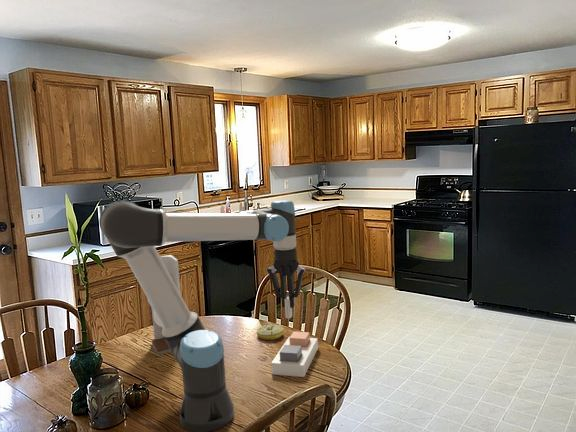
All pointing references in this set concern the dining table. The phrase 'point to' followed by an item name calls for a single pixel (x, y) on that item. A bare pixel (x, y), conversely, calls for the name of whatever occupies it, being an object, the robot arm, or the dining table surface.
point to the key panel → (295, 367)
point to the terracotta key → (299, 338)
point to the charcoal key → (290, 353)
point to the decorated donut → (270, 332)
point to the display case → (158, 340)
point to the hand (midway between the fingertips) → (289, 316)
